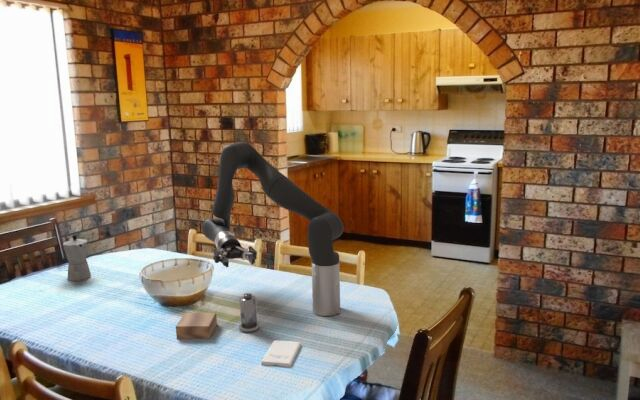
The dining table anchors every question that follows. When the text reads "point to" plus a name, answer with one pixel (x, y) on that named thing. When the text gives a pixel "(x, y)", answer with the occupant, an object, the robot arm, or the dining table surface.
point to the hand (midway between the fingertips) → (240, 263)
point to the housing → (248, 314)
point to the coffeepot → (77, 259)
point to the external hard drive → (281, 353)
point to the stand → (196, 326)
